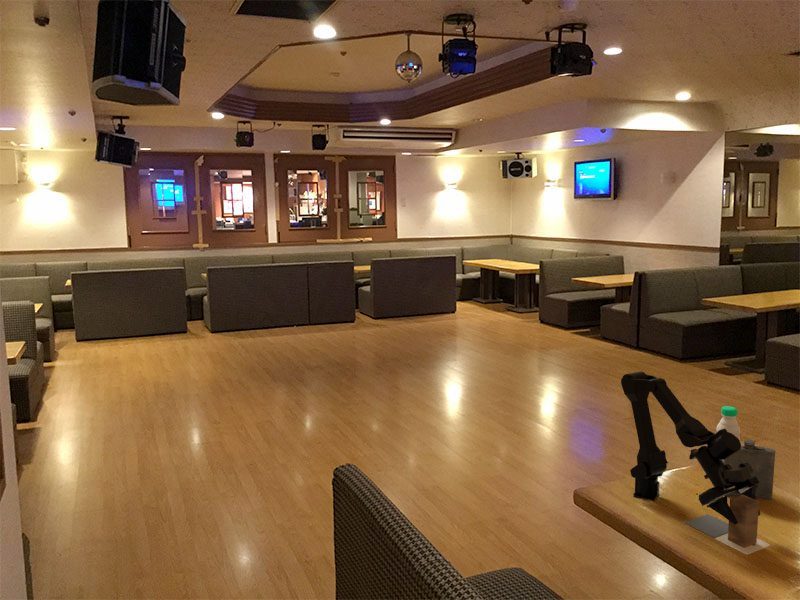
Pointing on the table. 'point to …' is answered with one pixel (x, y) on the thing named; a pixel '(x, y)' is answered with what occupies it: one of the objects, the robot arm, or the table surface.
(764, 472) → the flask
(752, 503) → the walnut pillar
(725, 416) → the water bottle
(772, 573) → the table surface
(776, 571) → the table surface
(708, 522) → the mat
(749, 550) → the tile
